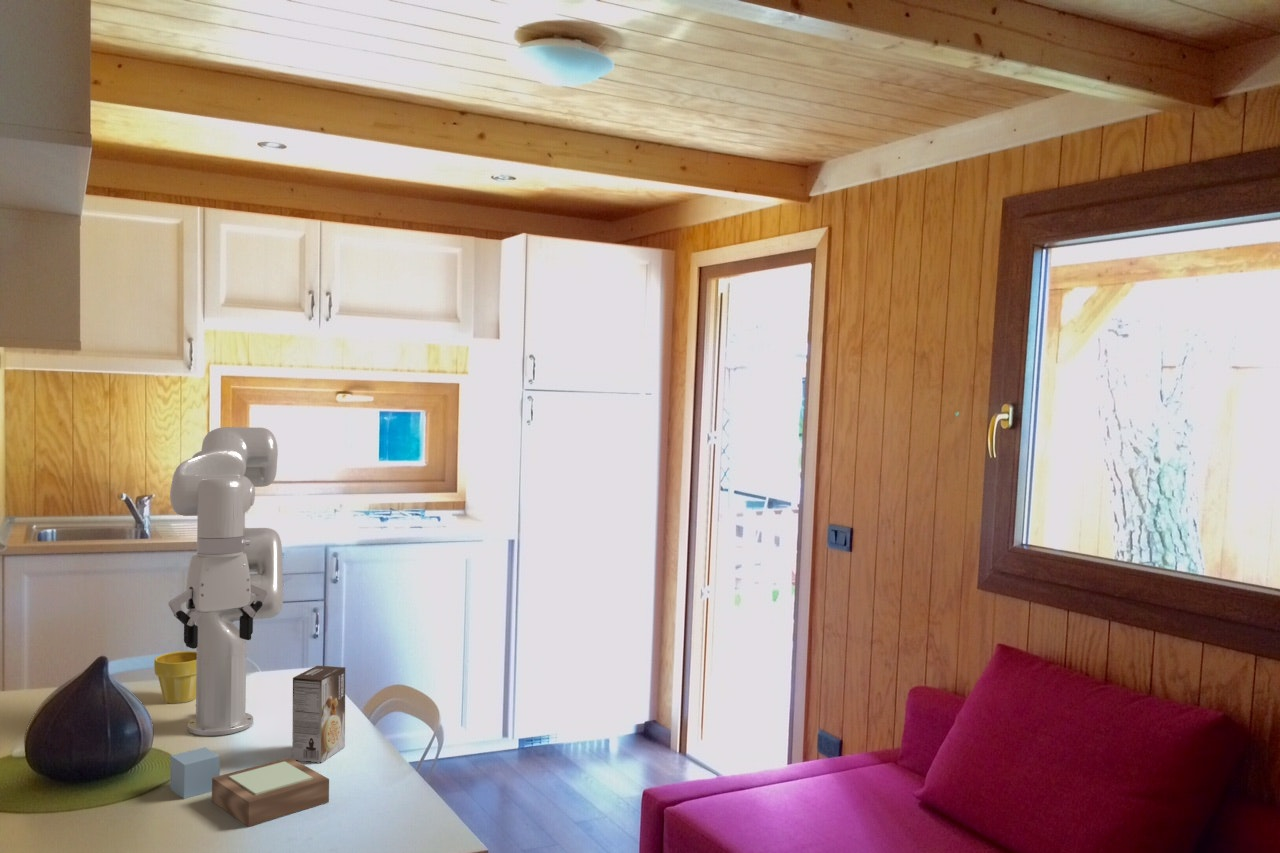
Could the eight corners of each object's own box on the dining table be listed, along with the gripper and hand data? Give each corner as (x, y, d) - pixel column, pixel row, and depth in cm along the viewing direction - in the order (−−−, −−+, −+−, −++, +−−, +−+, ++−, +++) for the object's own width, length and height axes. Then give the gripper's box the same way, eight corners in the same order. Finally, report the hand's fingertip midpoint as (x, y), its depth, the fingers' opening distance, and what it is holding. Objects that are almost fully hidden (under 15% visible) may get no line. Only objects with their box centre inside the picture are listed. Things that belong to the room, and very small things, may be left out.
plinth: (211, 800, 166) (212, 775, 166) (289, 779, 177) (290, 755, 176) (248, 826, 157) (249, 800, 157) (328, 802, 167) (329, 777, 167)
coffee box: (316, 744, 194) (317, 664, 194) (345, 747, 193) (346, 666, 193) (290, 760, 185) (292, 676, 185) (321, 764, 184) (322, 679, 184)
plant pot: (152, 708, 214) (152, 664, 214) (155, 695, 223) (155, 652, 223) (204, 703, 218) (204, 660, 218) (205, 690, 228) (205, 649, 227)
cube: (170, 789, 171) (170, 755, 171) (205, 780, 175) (205, 747, 175) (184, 799, 167) (184, 764, 167) (219, 790, 171) (219, 756, 171)
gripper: (256, 541, 183) (255, 633, 183) (161, 549, 170) (160, 647, 170) (276, 544, 178) (275, 638, 178) (179, 552, 165) (178, 654, 165)
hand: (219, 643), depth 174 cm, fingers open, 9 cm apart
